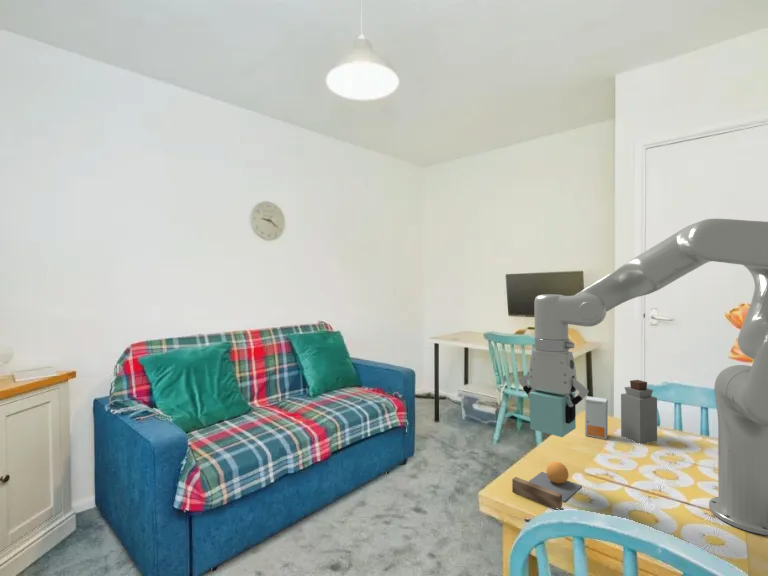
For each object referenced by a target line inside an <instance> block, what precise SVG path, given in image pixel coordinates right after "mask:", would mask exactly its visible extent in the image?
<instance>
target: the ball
mask: <svg viewBox="0 0 768 576" xmlns="http://www.w3.org/2000/svg"><path fill="white" fill-rule="evenodd" d="M545 473H547V476H548V478H549V479H550V480H551V481H552V482H554V483H556V484H562V483H564V482H566V481H568V478H569V471H568V469H567V466H565V464H563V463H561V462H559V461H552V462H550V463H549V464H548V465H547V466H546V472H545Z"/></svg>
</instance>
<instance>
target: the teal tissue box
mask: <svg viewBox="0 0 768 576" xmlns="http://www.w3.org/2000/svg"><path fill="white" fill-rule="evenodd" d="M572 393H573V395H574V396H575V397H576V391H575V392H572ZM566 406H567V403H566V397H563V396H562V395H557V394H552V393H547V392H542V391H533V392H531V393H530V398H529V428H530V430H533V431H537V432H539V433H540V432H541V433H543V434H549V435H552V436H555V437H558V438H559V437H560V438H564V437H565V436H566V435H567V434H569V433H571V432H573V431H574V430H575V429H576V426H577V424H576V423H577V421H576V418H575V420H574V421H573V422H571V423H569V424H568V423H566V409H565V408H566Z"/></svg>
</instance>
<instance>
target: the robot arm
mask: <svg viewBox="0 0 768 576" xmlns="http://www.w3.org/2000/svg"><path fill="white" fill-rule="evenodd" d="M710 262H718V263H724V264H731V265H742V266H744V267H745V268H746V269H747V270H748V271H749V272H750V275H751V277H752V279H753V282H754V291H753V295H752V299H751V301H750V302H751V303H750V305H749V307H748V310H747V313H746V316H745V318H744V320H743V323H742V325H741V327H740V331H739V333H738V337H737V345H738V348H739V350H740V351H741V352H742V354H743V355H745V356H746V357H748V358H750V359H752V360H753V362H752V365H748V364H747V365H745V364H735V365H731V366H728V367H726V368H724V369H722V370H721V371H720V372H719V374H718V375H717V376H716V379H715V381H714V390H713V391H714V398H715V404H716V411H717V412H716V413H717V424H718V428H717V430H718V431H717V434H718V437H717V439H718V440H717V441H718V444H717V445H718V446H717V449H718V451H717V452H718V457H717V458H718V459H717V460H718V461H717V462H718V465H717V466H718V469H717V470H718V474H717V475H718V476H717V477H718V481H717V483H718V486H717V487H718V489H717V490H718V491H717V492H718V494H717V495H718V496H716V497H713V498H711V499H710V500H708V501H709V502H708V507H709V510H710V512H711V513H712V514H713V515H714V516H716V517H717V518H718V519H720V520H721V521H722V522H725V523H726V524H729V525H731V526H734V527H735V528H737V529H740V530H744V531H747V532H750V533H754V534H758V535H762V536H768V221H762V220H761V221H760V220H744V219H734V218H733V219H730V218H728V219H727V218H709V219H708V218H707V219H704V220H700V221H697V222H695V223H692V224H690V225H688V226H686V227H684V228H682V229H680V230H678V231H676V232H675V233H674V234H672V235H670V236H669V237H667V238H665V239H663V240H662V241H661V242H659V243H656V244H655V245H654V246H652V247H650V248H649V249H647V250H645V251H644V252H642V253H640V254H639V255H637V256H635V257H634V258H632V259H630V260H629V261H628V262H626V263H624V264H623V265H621V266H619V267H618V268H617V269H615V270H614V271H612V272H610V273H608V274H607V275H605V276H603V277H602V278H601V279H598V280H597V281H596V282H594V283H592V284H591V285H588V287H585V288H584V289H582V290H581V291H579V292H577V293H575V294H574V295H563V294H553V293H552V294H550V293H548V294H547V293H546V294H538V295H537V296H535V299H534V303H533V304H534V305H533V306H534V308H533V309H534V313H533V314H534V349H532V351H531V354H530V355H531V356H530V362H529V368H528V369H529V370H528V373H526V374H525V375H523V376H522V377H520V378H519V379H518V382H519V384H520V386H521V387H522V389H523V391H524V392H525V393H526V395H527V397H528V399H530V393H531V392H533V391H542V392H547V393H552V394H557V395H562V396H563V397H566V403H567V406H566V408H565V409H566V423H568V424H569V423H571V422H573V421H574V420H575V419H576V418H577V417H576V414H577V413H576V412H577V411H576V405H577V404H579V403H580V402H582V401H583V400H584V398H585V397H587V396H588V394H589V392H590V391H589V389H588V388H587V387H585V386H584V385H583V384H582V383H581V382H579V380H577V379H578V378H577V370H576V365H575V364H576V363H575V359H574V354H573V352H572V351H569V350H570V349H575V342H571V341H570V338H569V325H573V326H579V327H595V326H597V325H600V323H602V322H603V321H604V320H605V318H606V315H607V312H610V310H612V309H614V308H616V307H617V306H619V305H621V304H623V303H626V302H628V301H630V300H632V299H635V298H638V297H643V296H647V295H650V294H653V293H655V292H657V291H659V290H661V289H664V288H665V287H666V286H668V285H670V284H672V283H673V282H674V281H677V280H678V279H681V278H682V277H684V276H686V275H687V274H689V273H691V272H693V271H694V270H696V269H698V268H700V267H702V266H704V265H705V264H708V263H710ZM577 391H578V393H577V395H575V396H574V395H573V393H572V392H575V393H576V392H577Z"/></svg>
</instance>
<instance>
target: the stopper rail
mask: <svg viewBox="0 0 768 576" xmlns="http://www.w3.org/2000/svg"><path fill="white" fill-rule="evenodd" d="M511 481H512V483H511V486H512V488H511V489H512V492H513V493H514V494H516V495H520V496H523V497H525V498H527V499H530V500H531V501H534V502H537V503H539V504H542V505H544V506H546V507H549V508H551V507H554V508H558V509H560V510H561V509H562V508H563V502H562V494H560V493H557V492H555V491H552V490H549V489H547V488H544V487H541V486H539V485H536V484H533V483H531V482H528V481H529V480H525V479H523V478H519V477H517V476H515V477H513V478H512V480H511ZM561 507H562V508H561ZM554 508H553V509H554Z"/></svg>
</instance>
